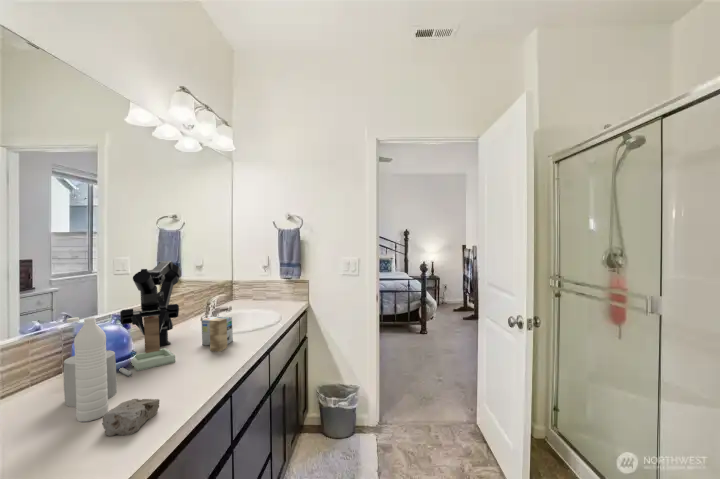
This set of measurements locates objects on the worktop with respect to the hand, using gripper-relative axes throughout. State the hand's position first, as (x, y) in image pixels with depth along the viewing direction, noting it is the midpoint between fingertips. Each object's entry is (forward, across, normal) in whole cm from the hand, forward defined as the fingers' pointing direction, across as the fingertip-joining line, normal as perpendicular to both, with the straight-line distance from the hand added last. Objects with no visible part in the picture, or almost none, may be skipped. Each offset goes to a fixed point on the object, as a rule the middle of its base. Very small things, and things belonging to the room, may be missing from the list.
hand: (151, 333), depth 130 cm
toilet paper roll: (+23, -16, -8) cm, 29 cm away
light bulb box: (0, +24, +16) cm, 29 cm away
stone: (+40, -7, -25) cm, 48 cm away
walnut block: (+4, 0, +6) cm, 7 cm away
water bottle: (+32, -16, -17) cm, 40 cm away
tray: (+7, 0, +8) cm, 11 cm away
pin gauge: (+12, -8, +3) cm, 15 cm away
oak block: (+6, +23, +9) cm, 26 cm away
